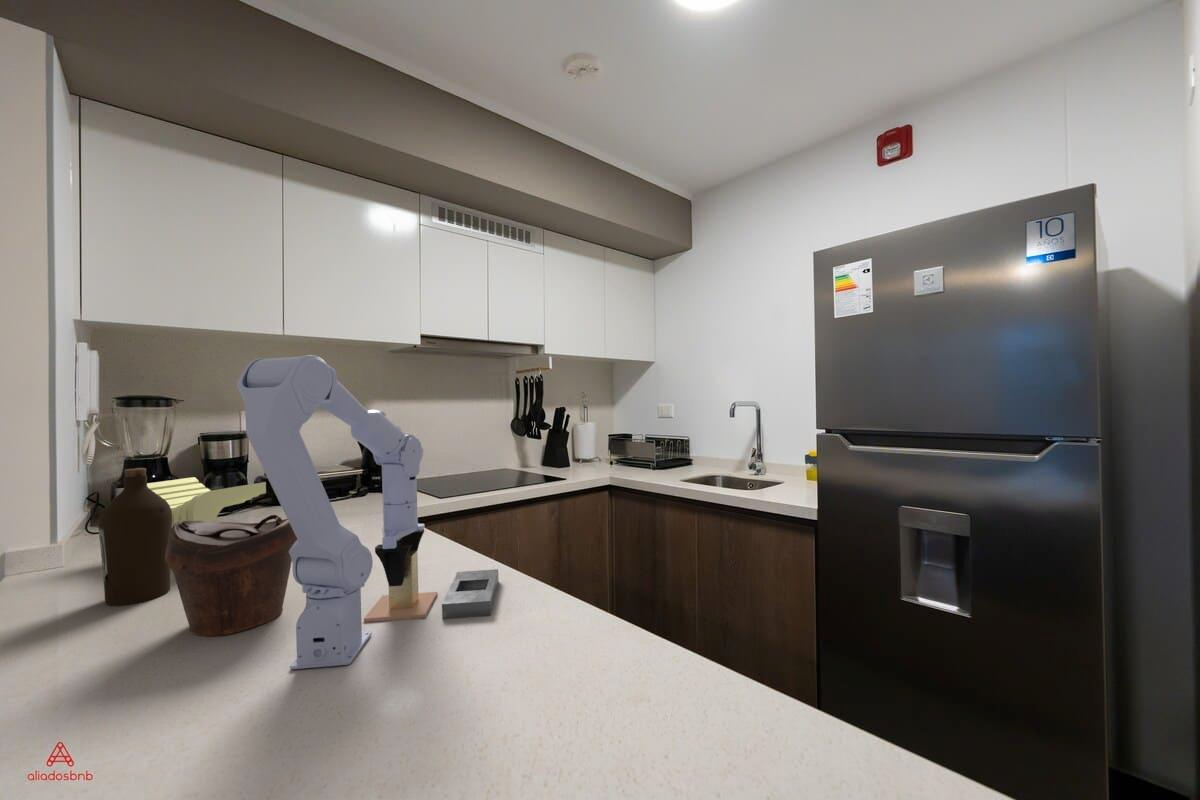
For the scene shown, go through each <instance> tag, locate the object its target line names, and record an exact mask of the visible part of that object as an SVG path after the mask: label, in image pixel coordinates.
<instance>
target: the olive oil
mask: <svg viewBox="0 0 1200 800" xmlns="http://www.w3.org/2000/svg"><path fill="white" fill-rule="evenodd" d="M123 473H124V476H123V490H121V492H120V493H119V494H118V495H117V496H116V497H115V498H113V499H112V500H111V501H110V502H109V503H107V505H106V506H105V507H104V508H103V509H102V511H101V513H100V515H99V518H98V522H97V524H98V538H99V547H100V554H101V567H102V578H103V589H104V603H105V604H106V605H108V606H126V605H132V604H138V603H144V602H146V601H150V600H153V599H156V598H158V597H161V596H164V595H165V594H167V593H168V592H169V591H170V590H171V566H170V565H169V564H168V563H166V561H165V555H166V548H167V543H168V538H169V533H170V530H171V528H172V511H171V508H170V506H169V504H168V502H167V501H166V500H164V499H163V498H162V497H160V496H159V495H157V494H156V493H155V492H153V491H152V490H150V489H149V488H148V487H147V483H148V475H147V468H145V467H135V468H126V469H124V470H123Z"/></svg>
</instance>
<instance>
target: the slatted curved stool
mask: <svg viewBox="0 0 1200 800" xmlns="http://www.w3.org/2000/svg"><path fill="white" fill-rule="evenodd" d="M266 485H267V483H266V481H264V482H263V481H262V482H258V483H251V484H245V485H238V486H232V487H231V486H230V487H226V488H221V489H220V488H219V489H214V490H211V489H210V488H209V487H206V486H205V485H204V484H203V483H201V482H200V481H199V479H197V478H196V476H195V477H194V476H193V477H185V478H177V479H172V480H171V479H170V480H163V481H156V482H147V487H148V488H149V489H150V490H152V491H153V492H155V493H156V494H157V495H159V496H160V497H162V498H163V499H164V500H166V501H167V502H168V504H169V506H170V508H171V511H172V527H173V526H174V525H175V524H176V523H177V522H180V521H185V520H196V521H209V522H217V517H218V516H219V514H220V512H222V510H223V509H224V508H226V507H230V506H233V505H238V504H243V503H245V502H246V501H249V500H252V499H253V498H257V497H259V496H260V495H264V494H267V486H266Z"/></svg>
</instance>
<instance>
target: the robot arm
mask: <svg viewBox="0 0 1200 800" xmlns="http://www.w3.org/2000/svg"><path fill="white" fill-rule="evenodd" d="M236 388H237V390H238V391H239V394H240V397H241V398H242V400H243V403H244V412H245V413H244V417H245V432H246V435H247V438H248V441H249V442H250V444H251V446H252V449H253V451H254V453H255V455H256V458H257V459H258V461H259V463H260V466H261V467H262V469H263V471H264V473H265V476H266V477H267V480H268V482H269V484H270V486H271V488H272V490H273V492H274V494H275V496H276V498H277V500H278V502H279V504H280V506H281V508H282V510H283V512H284V514H285V517H286V519H288V521H289V523H290V525H291V527H292V529H293V531H294V533H295V535H296V537H297V541H296V542H295V543H294V544H293V546H292V547H291V549H290V550H289V554H290V556H291V558H292V563H291V564H292V576H293V579H294V581H295V582H296V583H297V584H298V585H300V586H301V587H302V588H301V590H302V593H304V594H305V595H306V596H305V601H306V603H305V607H304V610H303V611H302V612H301V613H300V615H299V616H298V619H297V620H296V621H297V622H296V626H295V634H296V635H295V637H296V638H295V639H296V659H295V660H294V661H292V662H291V664H290V666H289V669H290V670H301V669H310V668H314V669H315V668H323V667H324V668H325V667H336V666H346V665H350V664H351V663H352V662H353V661H354V659H355V657H357V655H358V654H359V652H360V651H361V650H362V648H363V647H364V645H365V644H366V642H368V640H369V638H370V637H371V636H372V631H370V630H368V631H366V630H365V631H363V628H362V627H363V625H362V621H363V620H362V591H361V589H362V588H363V587H365V584H366V582H367V581H368V579H369V577H370V575H371V574H372V569H373V555H372V552H371V551H370V549H369V548H368V547H367V546H365V545H364V544H363V543H362V542H361V541H360V538H359V536H358V535H357V534H356V533H354V532H353V531H351V530H349V529H348V528H346V527H345V526H343V525H342V524H340V522H339V519H338V517H337V515H336V513H335V510H334V507H333V506H332V504H331V501H330V499H329V496H328V494H327V492H326V489H325V487H324V485H323V483H322V480H321V478H320V476H319V473H318V472H317V469H316V466H315V464H314V463H313V460H312V458H311V456H310V452H309V450H308V447H307V446H306V444H305V442H304V439H303V437H302V435H301V428H302V427H303V425H304V424H306V423H308V421H309V420H310V418H311V417H312V416H313V415H314V413H315V412H316V411H317V410H318V408H319V407H321V408H322V409H324V410H325V411H327V412H328V413H330V414H331V415H333V416H334V417H336V418H338V419H339V420H341V421H342V422H344V423H345V424H347V425H348V426H349V427H350V434H351V436H352V438H353V439H354V440H356V441H357V442H359V443H360V444H361V445H362V446H363V447H365V448H366V449H368V450H369V451H370V453H372V455H373V459H374V462H375V463H376V465H379V466H381V480H382V481H381V482H382V484H381V485H382V489H381V490H382V516H383V517H382V521H383V524H382V525H383V527H382V529H381V531H382V532H381V533H382V544H377V545H376V546H375V547H374V553H375V554H376V556H377V557H378V559H379V560H380V562H381V564H382V566H383V570H384V572H385V577H386V581H387V584H389V585H388V587H389V586H401V585H402V584H403V581H404V574H405V565H406V560H407V556H408V553H409V551H411V550H417V552H418V549H419V546H420V543H421V540H422V537H423V536H424V533H425V528H426V527H425V526H426V525H425V523H419V522H418V521H419V519H418V518H419V517H418V485H417V483H418V482H417V476H418V475H419V472H420V464H421V461H422V459H423V456H424V448H423V447H422V446H423V445H422V443H421V441H420V439H419V438H417V437H416V436H415V435H413V434H405V433H404V432H403V431H402V428H400V427H399V426H398V425H396V424H395V423H393V422H392V421H391V420H390V419H388V418H387V417H386V416H387V414H386V413H385V412H384V411H383V410H377V409H369V410H368V409H367V408H366V407H364V405H362V404H361V402H359V400H357V399H356V397H355V396H353V394H352V393H351V392H350V391H349V390H348V389H346V387H345V386H344V385H343V384H342V383H341V382H340V381H339V380H338V375H337V371H336V369H335V368H333V367H331V366H330V365H329V364H328V363H327V361H325V360H324V359H323V358H321V357H320V356H318V355H314V354H308V355H307V354H306V355H303V356H293V357H292V356H291V357H275V358H269V357H268V358H267V357H259V358H254V359H252V360H251V361H249V363H247V365H246V366H245V368H244V369H243V370H242V373H241V375H240V377H239V379H238V381H237V383H236Z"/></svg>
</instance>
